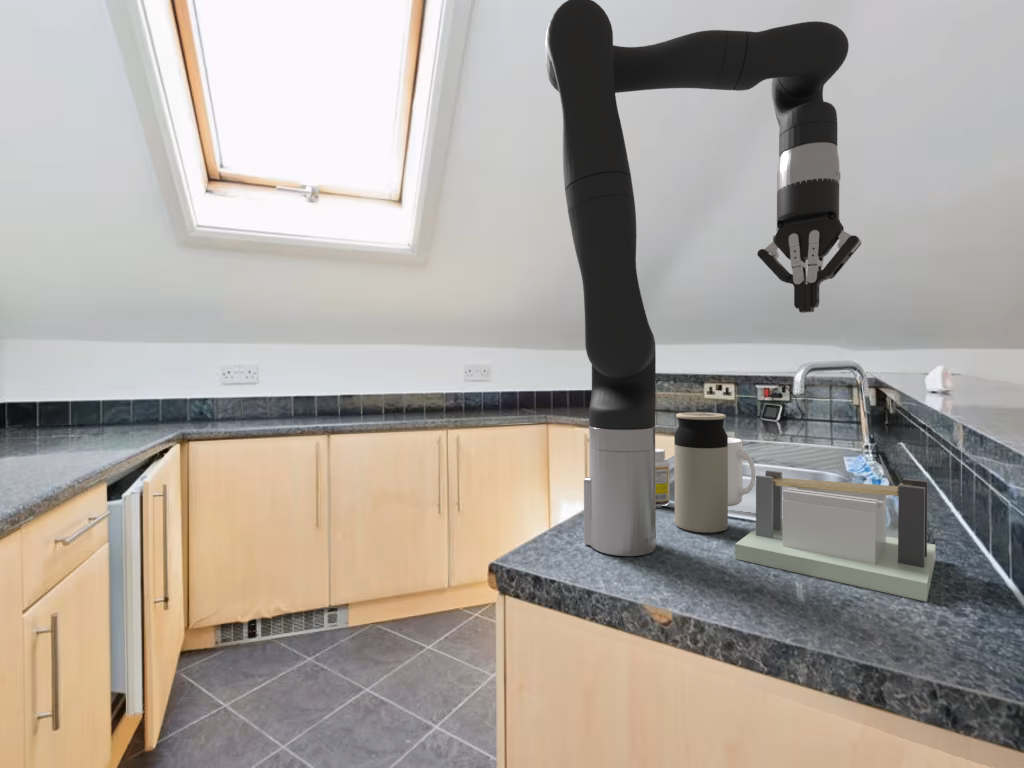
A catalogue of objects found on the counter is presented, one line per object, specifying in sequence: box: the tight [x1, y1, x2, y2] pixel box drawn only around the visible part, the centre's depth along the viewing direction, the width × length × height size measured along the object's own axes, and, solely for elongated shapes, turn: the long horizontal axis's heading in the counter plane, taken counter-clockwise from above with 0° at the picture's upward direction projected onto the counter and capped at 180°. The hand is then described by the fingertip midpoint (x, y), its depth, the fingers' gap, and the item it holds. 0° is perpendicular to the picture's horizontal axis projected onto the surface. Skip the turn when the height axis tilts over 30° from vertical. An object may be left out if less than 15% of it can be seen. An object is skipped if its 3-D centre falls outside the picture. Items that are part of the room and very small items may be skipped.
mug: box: [728, 436, 756, 507], centre depth 99 cm, size 10×12×12 cm
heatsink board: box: [734, 470, 937, 602], centre depth 69 cm, size 20×16×11 cm
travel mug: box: [673, 411, 729, 534], centre depth 84 cm, size 8×8×18 cm
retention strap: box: [769, 475, 912, 497], centre depth 69 cm, size 17×3×1 cm, turn 48°
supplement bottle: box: [655, 448, 671, 506], centre depth 98 cm, size 6×6×10 cm
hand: (806, 311), depth 73 cm, fingers closed
